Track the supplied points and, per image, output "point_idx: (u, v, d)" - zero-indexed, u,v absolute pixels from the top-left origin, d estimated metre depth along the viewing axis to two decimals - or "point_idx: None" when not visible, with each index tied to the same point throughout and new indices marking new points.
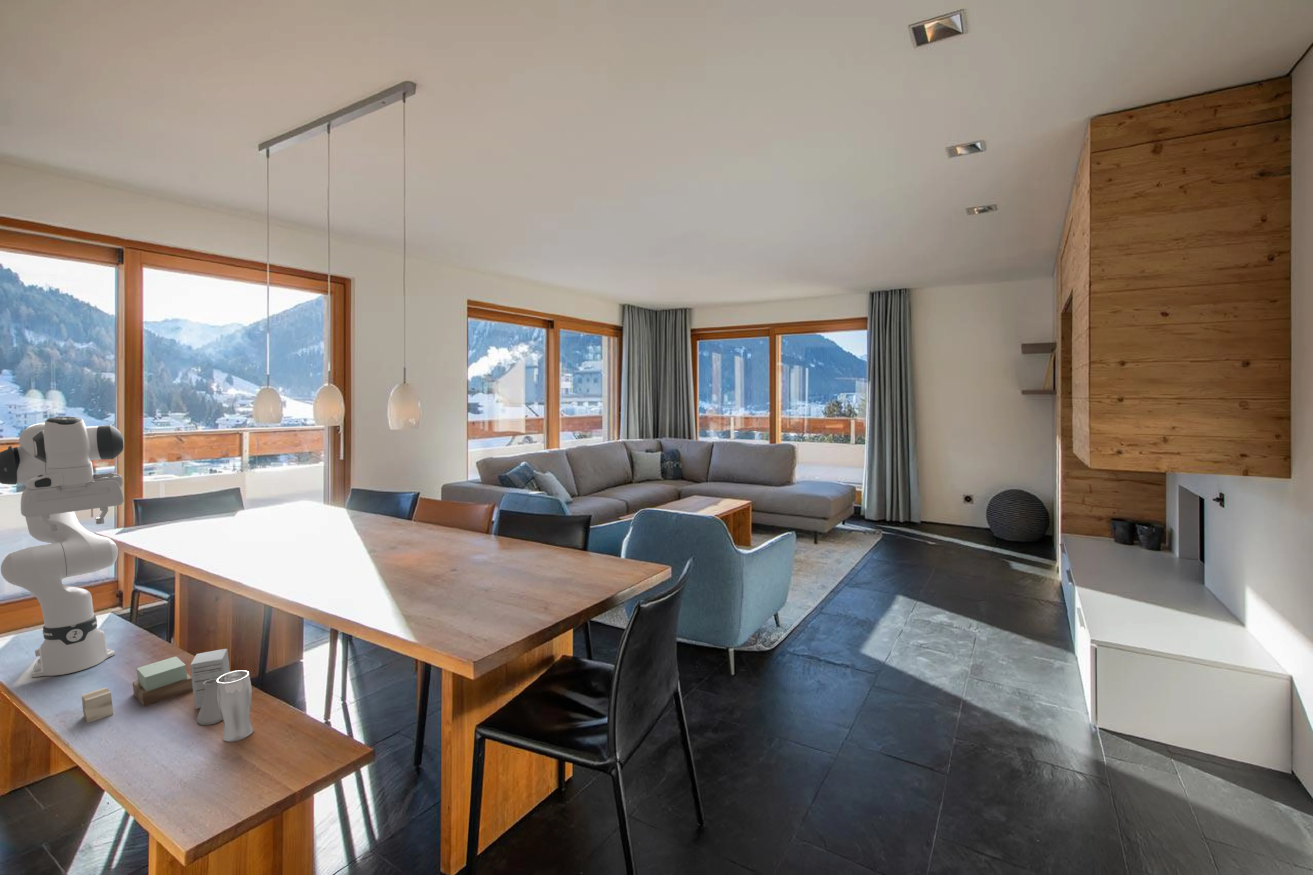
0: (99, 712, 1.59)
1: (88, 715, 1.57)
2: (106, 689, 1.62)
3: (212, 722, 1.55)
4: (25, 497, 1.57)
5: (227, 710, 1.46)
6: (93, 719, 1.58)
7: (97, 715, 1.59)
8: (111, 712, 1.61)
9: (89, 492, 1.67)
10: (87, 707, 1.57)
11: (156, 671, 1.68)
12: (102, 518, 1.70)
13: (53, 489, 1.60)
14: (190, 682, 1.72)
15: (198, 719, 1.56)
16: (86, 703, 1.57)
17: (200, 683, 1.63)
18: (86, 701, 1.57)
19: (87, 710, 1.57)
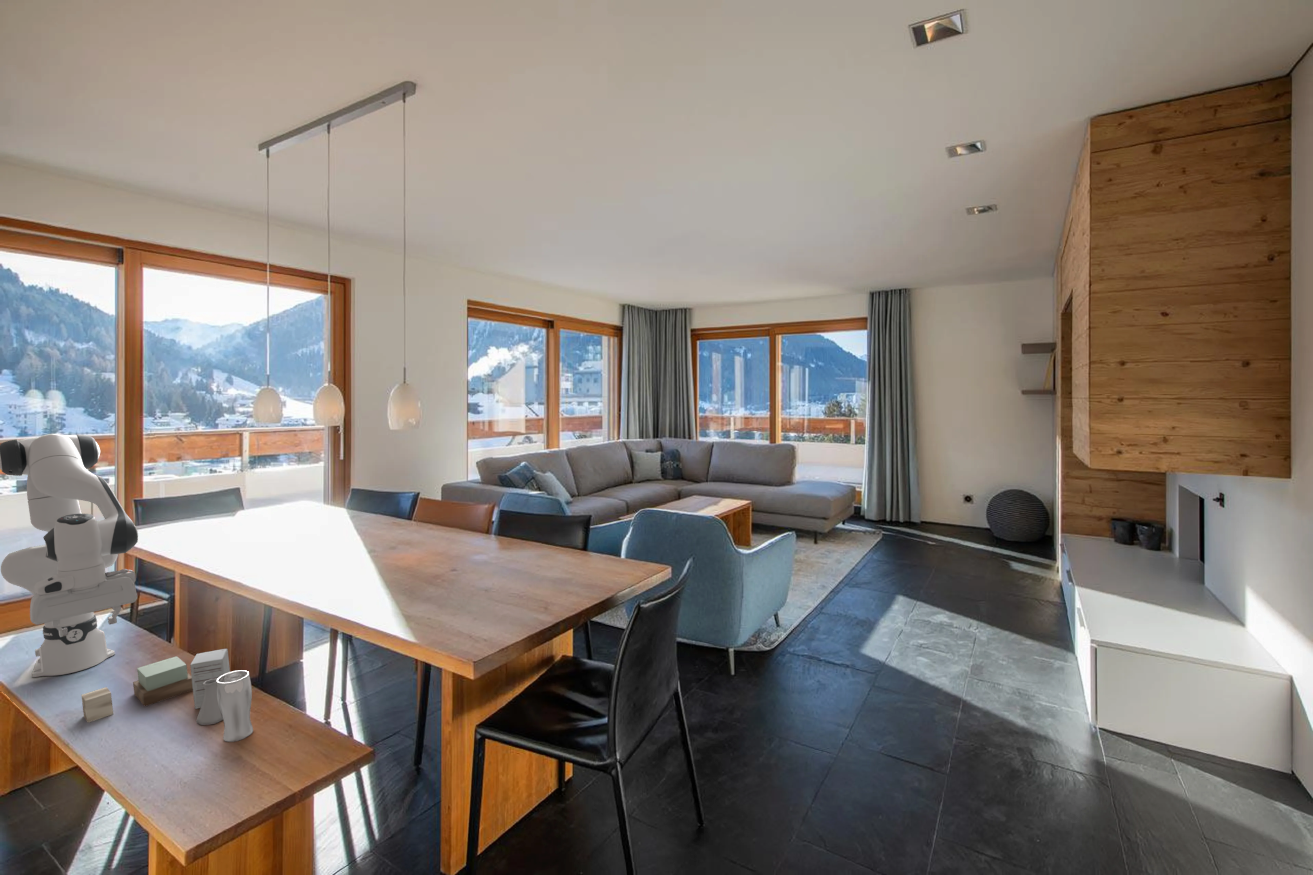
0: (99, 712, 1.59)
1: (88, 715, 1.57)
2: (106, 689, 1.62)
3: (212, 722, 1.55)
4: (35, 604, 1.49)
5: (227, 710, 1.46)
6: (93, 719, 1.58)
7: (97, 715, 1.59)
8: (111, 712, 1.61)
9: (101, 592, 1.59)
10: (87, 707, 1.57)
11: (157, 671, 1.69)
12: (115, 618, 1.62)
13: (64, 593, 1.53)
14: (190, 682, 1.72)
15: (198, 719, 1.56)
16: (86, 703, 1.57)
17: (200, 683, 1.63)
18: (86, 701, 1.57)
19: (87, 710, 1.57)
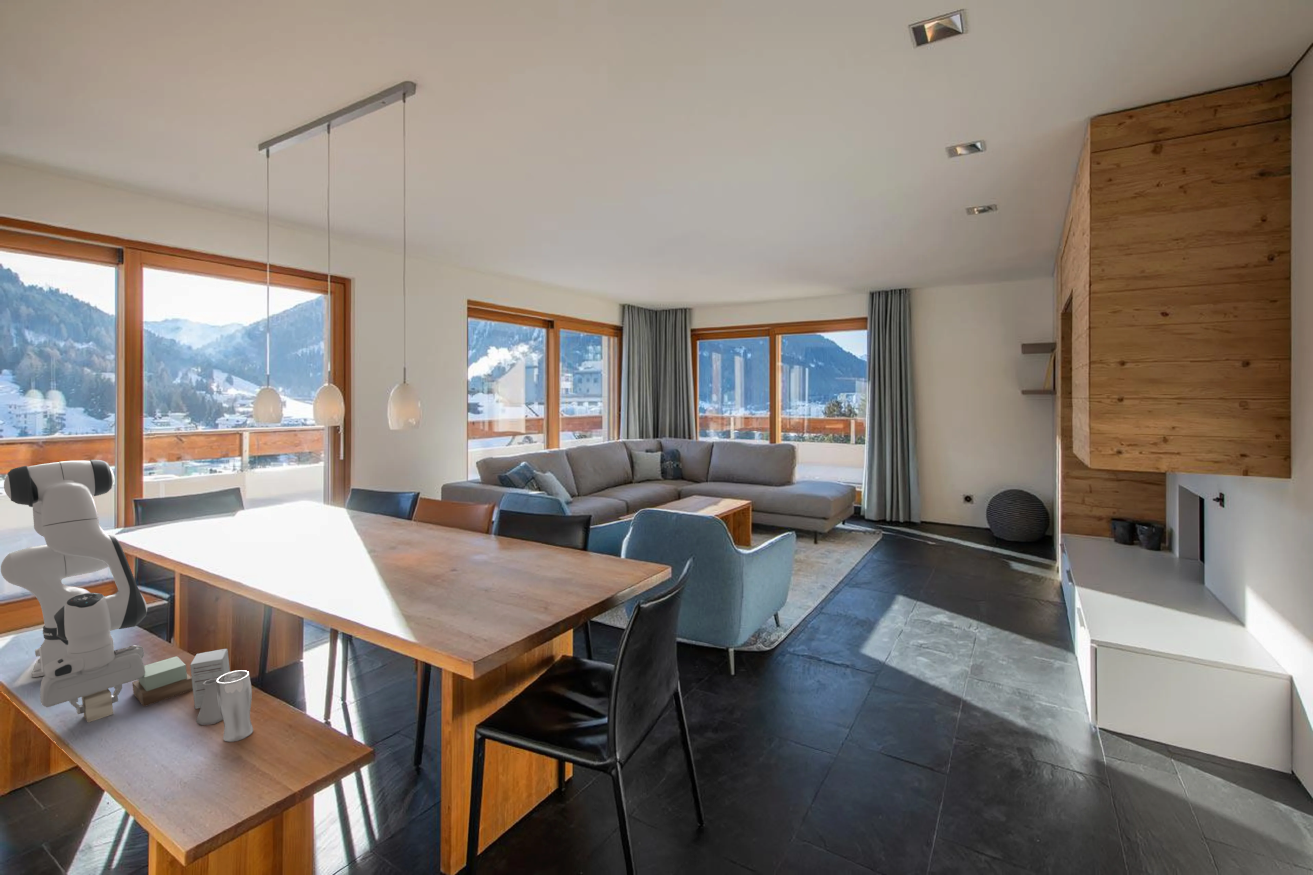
0: (99, 711, 1.59)
1: (88, 715, 1.57)
2: (106, 689, 1.62)
3: (212, 722, 1.55)
4: (45, 687, 1.51)
5: (227, 710, 1.46)
6: (93, 719, 1.58)
7: (97, 714, 1.59)
8: (111, 712, 1.61)
9: (110, 670, 1.61)
10: (87, 707, 1.57)
11: (156, 671, 1.69)
12: (116, 696, 1.63)
13: (74, 675, 1.54)
14: (190, 682, 1.72)
15: (198, 719, 1.56)
16: (86, 703, 1.57)
17: (200, 683, 1.63)
18: (86, 701, 1.57)
19: (87, 710, 1.57)
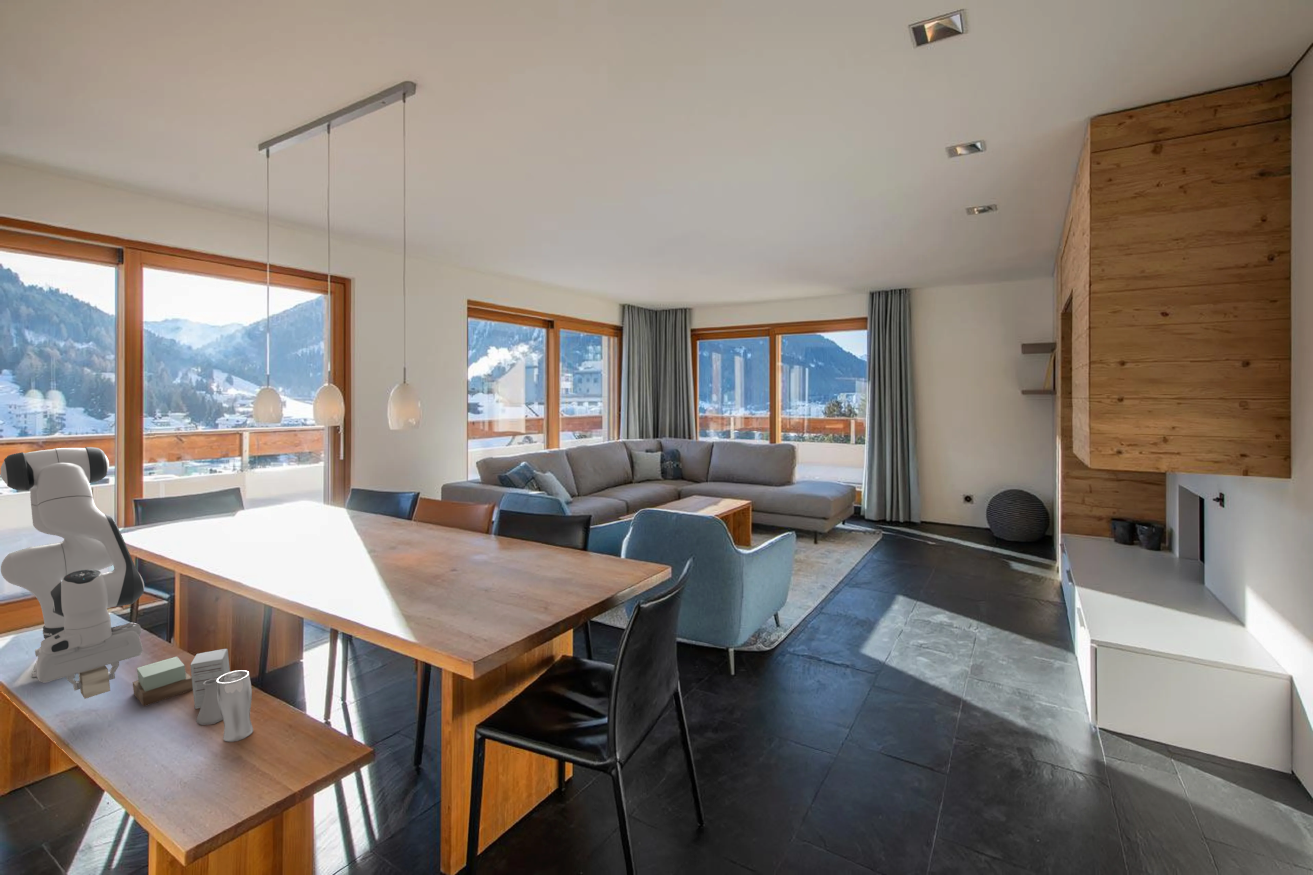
0: (95, 688, 1.58)
1: (85, 691, 1.57)
2: (103, 666, 1.62)
3: (212, 722, 1.55)
4: (42, 663, 1.50)
5: (227, 710, 1.46)
6: (90, 695, 1.58)
7: (94, 691, 1.58)
8: (108, 689, 1.60)
9: (107, 647, 1.61)
10: (84, 683, 1.57)
11: (155, 671, 1.68)
12: (113, 673, 1.62)
13: (70, 651, 1.54)
14: (190, 682, 1.73)
15: (198, 719, 1.56)
16: (83, 679, 1.56)
17: (200, 683, 1.63)
18: (83, 677, 1.56)
19: (84, 686, 1.57)
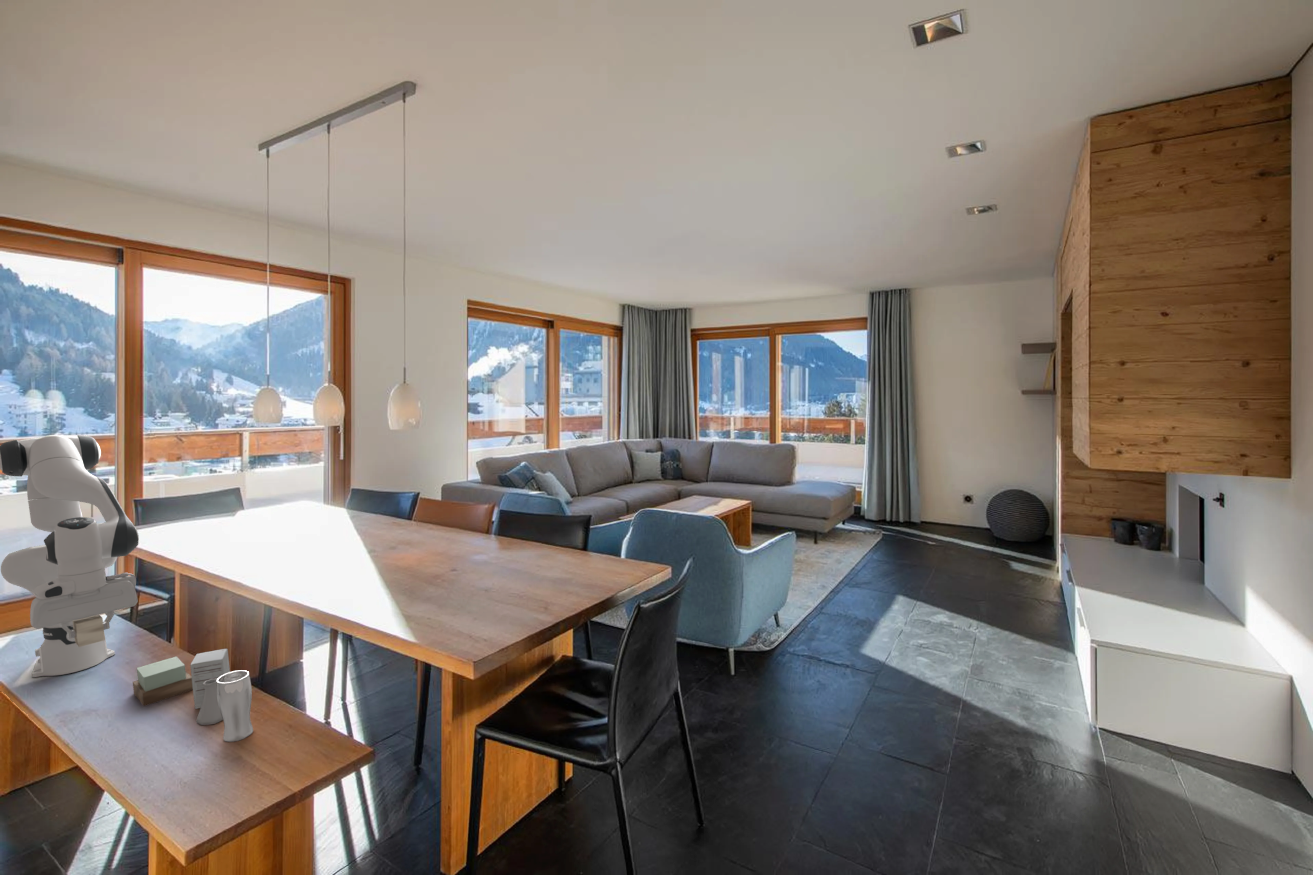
0: (90, 637, 1.57)
1: (79, 639, 1.55)
2: (98, 615, 1.60)
3: (212, 722, 1.55)
4: (35, 608, 1.49)
5: (227, 710, 1.46)
6: (84, 644, 1.56)
7: (89, 639, 1.57)
8: (103, 638, 1.59)
9: (102, 596, 1.59)
10: (78, 631, 1.55)
11: (155, 671, 1.68)
12: (107, 623, 1.61)
13: (64, 597, 1.52)
14: (190, 682, 1.73)
15: (198, 719, 1.56)
16: (77, 627, 1.55)
17: (200, 683, 1.63)
18: (77, 625, 1.55)
19: (78, 634, 1.55)
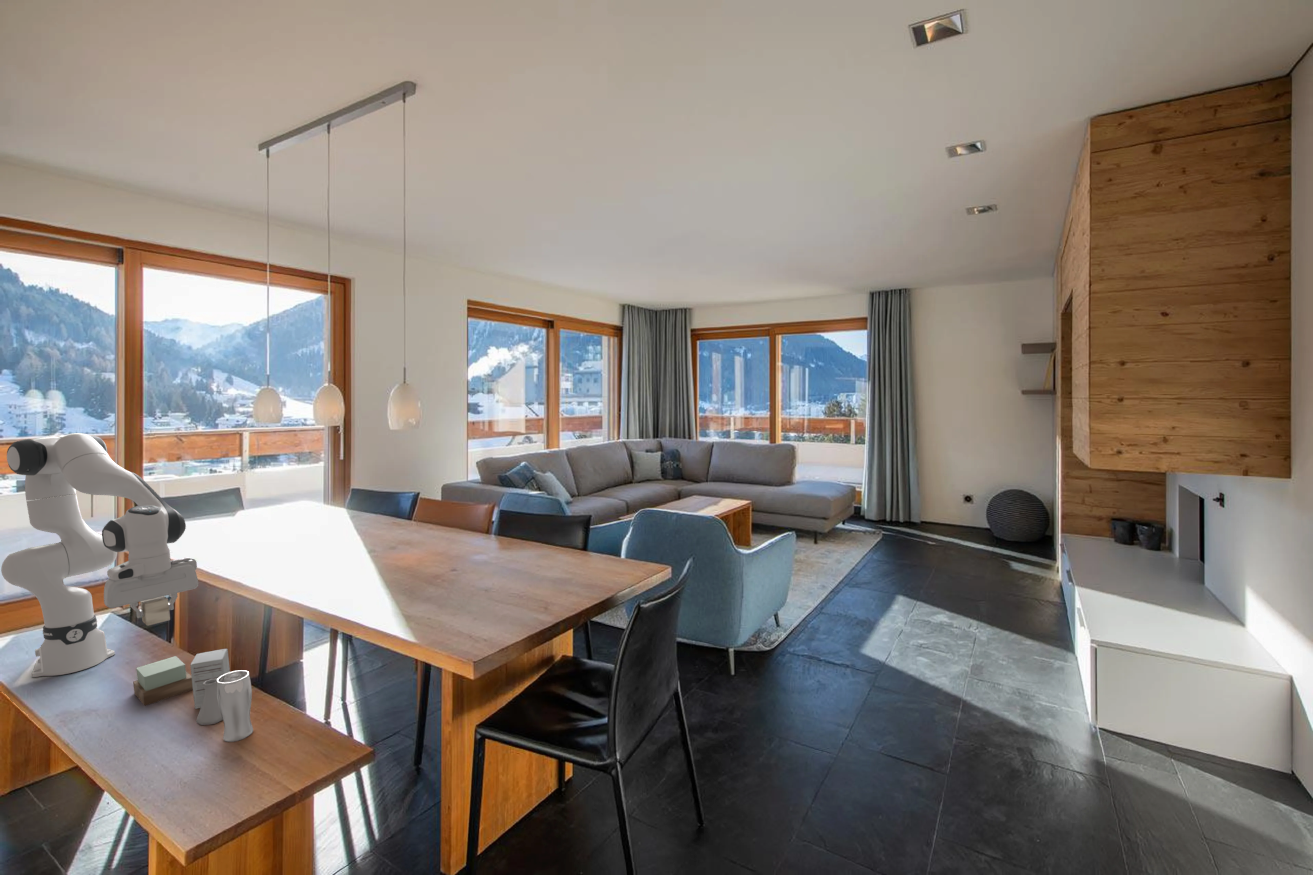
0: (157, 616, 1.68)
1: (147, 618, 1.67)
2: (163, 597, 1.72)
3: (212, 722, 1.55)
4: (109, 589, 1.60)
5: (227, 710, 1.46)
6: (152, 623, 1.67)
7: (156, 619, 1.68)
8: (168, 618, 1.70)
9: (167, 579, 1.70)
10: (147, 611, 1.66)
11: (156, 671, 1.69)
12: (172, 604, 1.72)
13: (135, 579, 1.64)
14: (190, 681, 1.73)
15: (198, 719, 1.56)
16: (146, 607, 1.66)
17: (200, 683, 1.63)
18: (146, 605, 1.66)
19: (147, 614, 1.66)
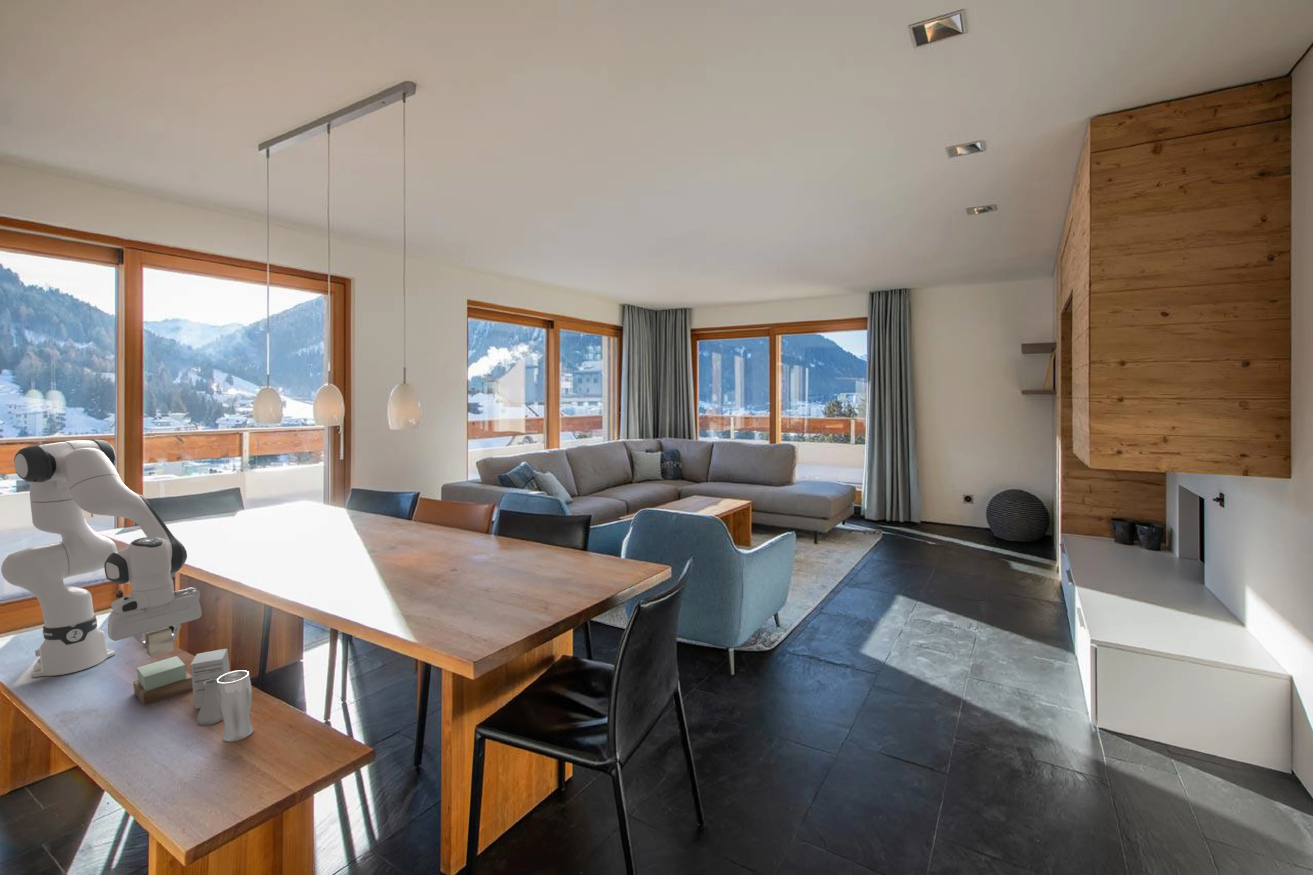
0: (161, 647, 1.69)
1: (151, 650, 1.67)
2: (166, 627, 1.72)
3: (212, 722, 1.55)
4: (113, 622, 1.61)
5: (227, 710, 1.46)
6: (156, 654, 1.68)
7: (160, 650, 1.69)
8: (172, 648, 1.71)
9: (171, 610, 1.71)
10: (150, 642, 1.67)
11: (156, 671, 1.69)
12: (175, 635, 1.73)
13: (139, 611, 1.65)
14: (190, 681, 1.73)
15: (198, 719, 1.56)
16: (150, 638, 1.67)
17: (200, 683, 1.63)
18: (150, 637, 1.67)
19: (150, 645, 1.67)
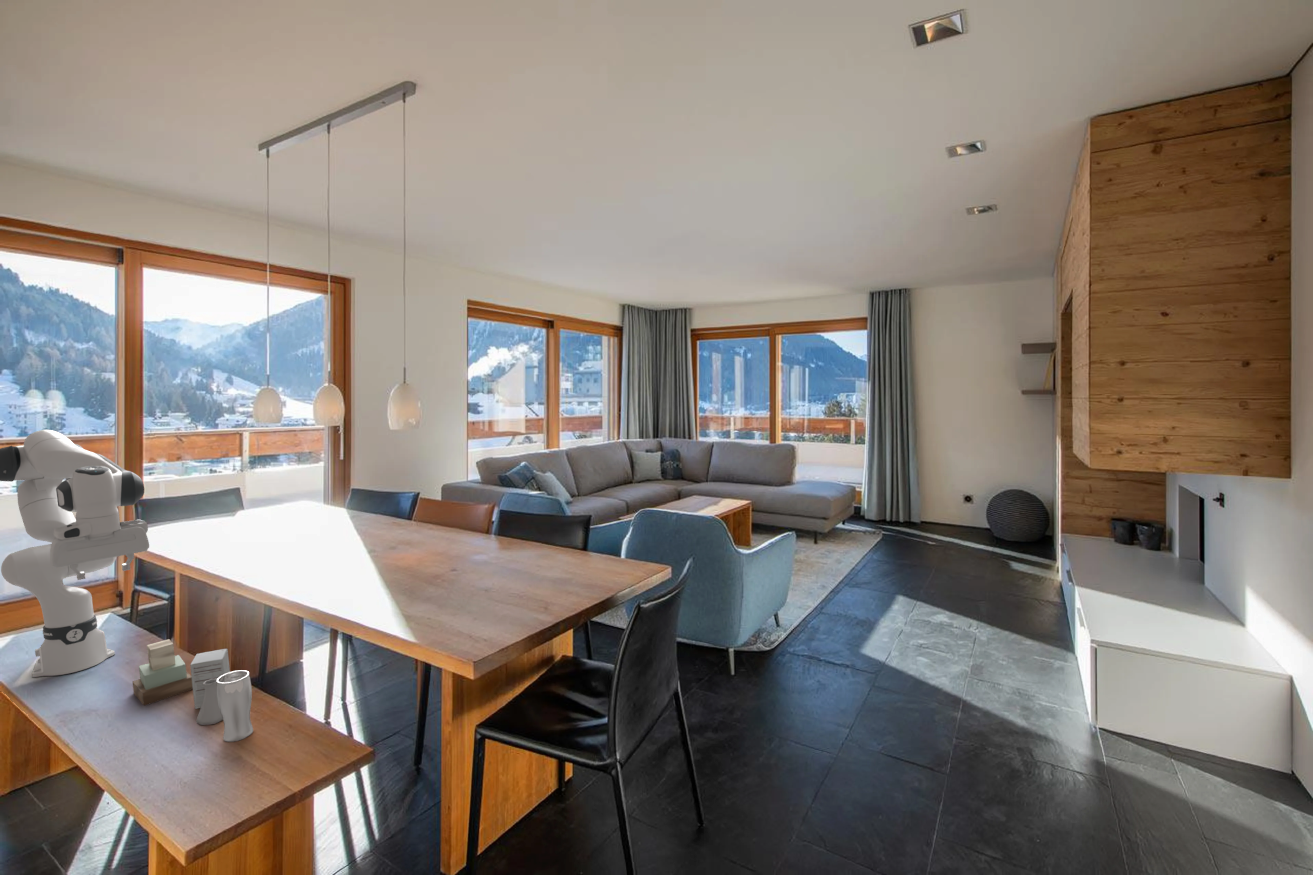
0: (162, 661, 1.70)
1: (153, 663, 1.69)
2: (169, 641, 1.74)
3: (212, 722, 1.55)
4: (55, 548, 1.60)
5: (227, 710, 1.46)
6: (157, 667, 1.70)
7: (161, 664, 1.70)
8: (173, 662, 1.72)
9: (116, 540, 1.70)
10: (152, 656, 1.69)
11: (156, 670, 1.69)
12: (128, 564, 1.73)
13: (82, 539, 1.63)
14: (190, 681, 1.73)
15: (198, 719, 1.56)
16: (151, 652, 1.68)
17: (200, 683, 1.63)
18: (151, 650, 1.68)
19: (152, 659, 1.69)
